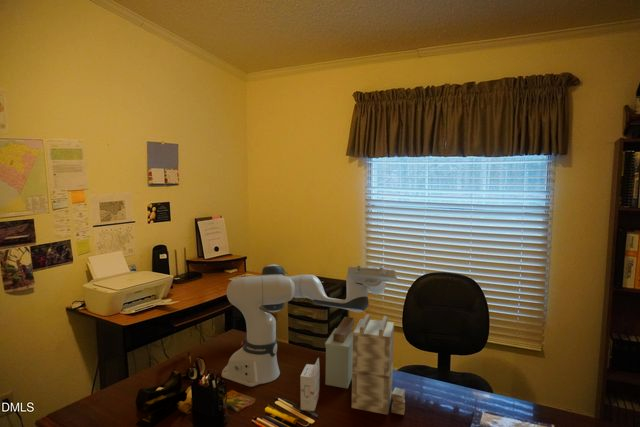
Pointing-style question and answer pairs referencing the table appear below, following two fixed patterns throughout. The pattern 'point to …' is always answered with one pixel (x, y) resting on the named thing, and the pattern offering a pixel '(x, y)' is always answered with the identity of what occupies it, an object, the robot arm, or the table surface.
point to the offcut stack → (398, 401)
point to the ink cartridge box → (310, 386)
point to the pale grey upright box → (339, 361)
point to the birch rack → (372, 365)
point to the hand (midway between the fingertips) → (369, 268)
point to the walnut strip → (343, 329)
